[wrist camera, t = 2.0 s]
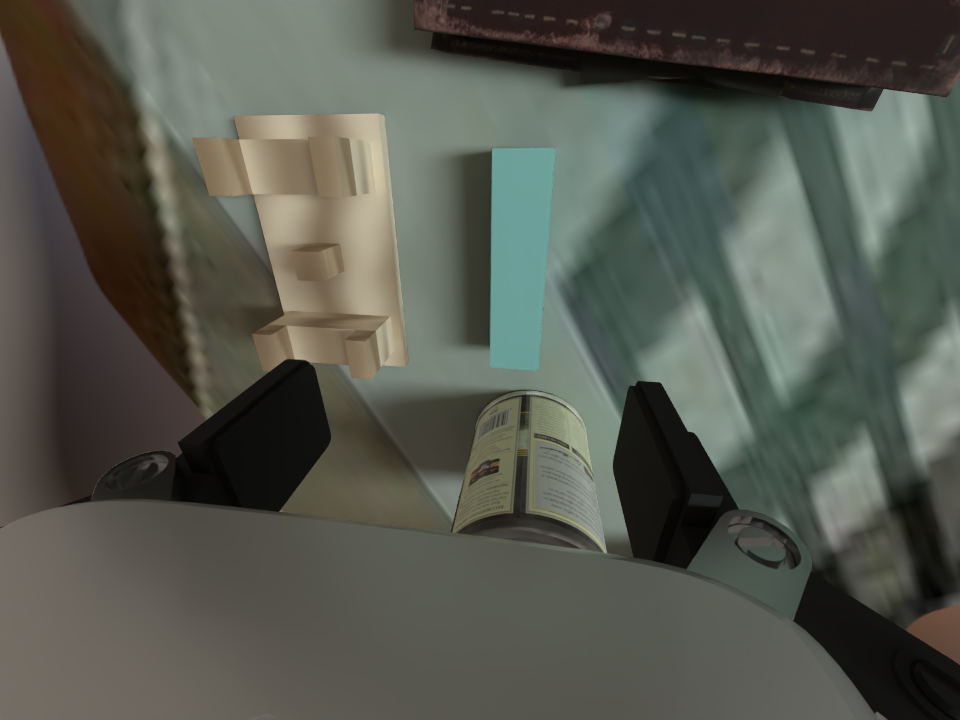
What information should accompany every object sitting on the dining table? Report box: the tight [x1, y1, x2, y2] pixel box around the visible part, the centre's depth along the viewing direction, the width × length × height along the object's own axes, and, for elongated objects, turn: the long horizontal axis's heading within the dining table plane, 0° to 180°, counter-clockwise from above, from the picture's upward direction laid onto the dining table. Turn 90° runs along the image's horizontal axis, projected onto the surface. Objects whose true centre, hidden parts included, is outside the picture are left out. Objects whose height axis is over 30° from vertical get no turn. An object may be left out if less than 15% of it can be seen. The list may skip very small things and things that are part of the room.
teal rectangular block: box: [489, 148, 555, 371], centre depth 26 cm, size 4×14×4 cm, turn 0°
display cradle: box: [192, 114, 408, 379], centre depth 26 cm, size 10×18×6 cm, turn 0°
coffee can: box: [451, 391, 607, 553], centre depth 28 cm, size 10×10×14 cm
